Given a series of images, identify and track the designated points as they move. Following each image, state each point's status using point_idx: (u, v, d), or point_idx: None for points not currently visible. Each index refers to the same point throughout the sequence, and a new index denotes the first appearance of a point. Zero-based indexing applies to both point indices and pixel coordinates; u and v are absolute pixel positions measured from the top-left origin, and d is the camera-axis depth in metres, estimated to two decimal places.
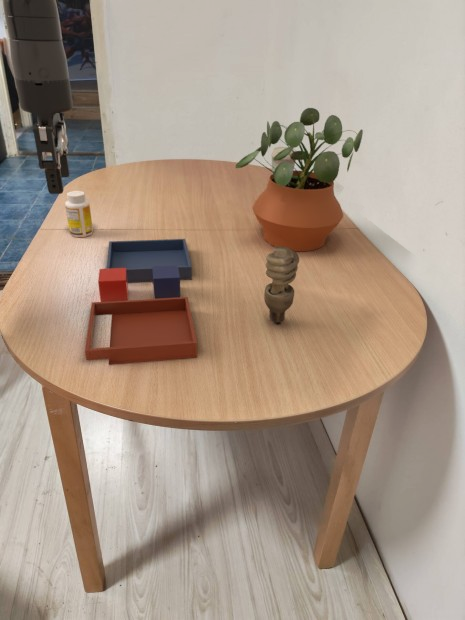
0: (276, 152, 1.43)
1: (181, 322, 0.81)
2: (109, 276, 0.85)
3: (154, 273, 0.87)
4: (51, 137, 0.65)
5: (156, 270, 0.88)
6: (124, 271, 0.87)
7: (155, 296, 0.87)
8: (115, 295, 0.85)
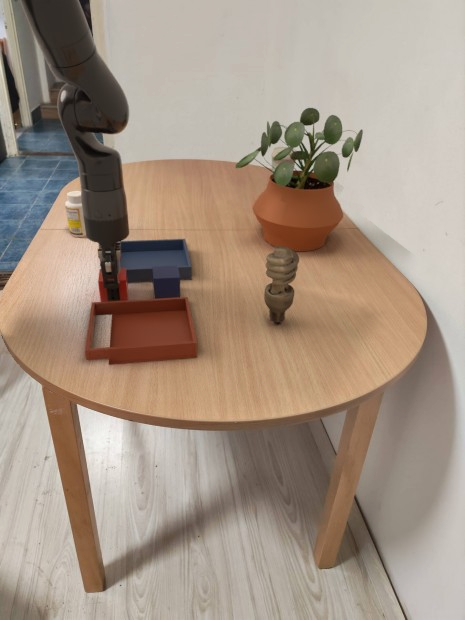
0: (276, 152, 1.43)
1: (181, 322, 0.81)
2: None
3: (154, 273, 0.87)
4: None
5: (156, 270, 0.88)
6: (124, 271, 0.87)
7: (155, 296, 0.87)
8: None
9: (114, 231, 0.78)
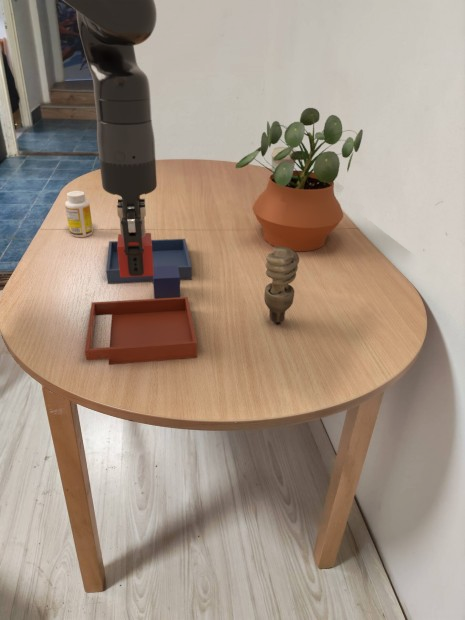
0: (276, 152, 1.43)
1: (181, 322, 0.81)
2: None
3: (154, 273, 0.87)
4: None
5: (156, 270, 0.88)
6: (149, 236, 0.70)
7: (155, 296, 0.87)
8: None
9: (139, 180, 0.60)
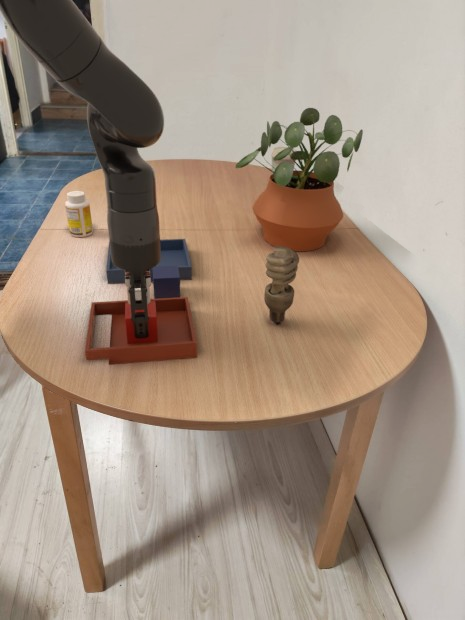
0: (276, 152, 1.43)
1: (181, 322, 0.81)
2: (137, 311, 0.74)
3: (154, 273, 0.87)
4: None
5: (156, 270, 0.88)
6: (154, 305, 0.76)
7: (155, 296, 0.87)
8: None
9: (145, 257, 0.67)
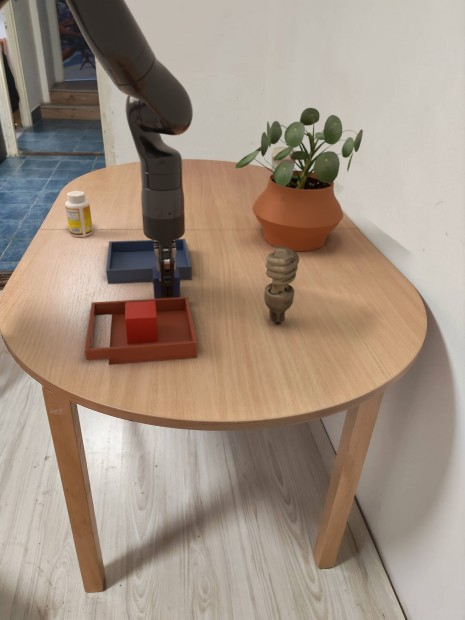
0: (276, 152, 1.43)
1: (181, 322, 0.81)
2: (137, 311, 0.74)
3: (154, 273, 0.87)
4: None
5: (156, 270, 0.88)
6: (154, 305, 0.76)
7: (155, 296, 0.87)
8: (143, 333, 0.75)
9: (173, 229, 0.79)
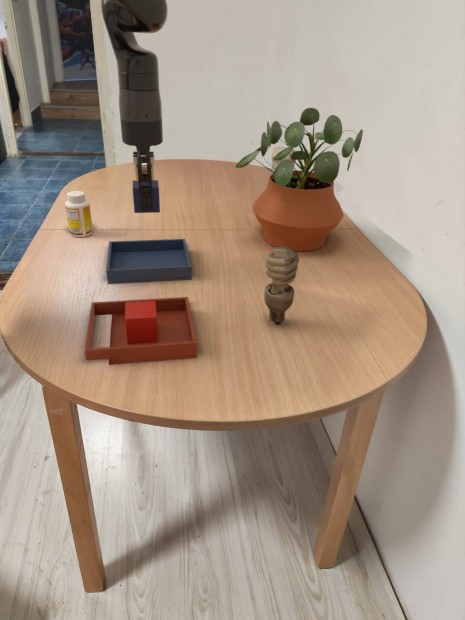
0: (276, 152, 1.43)
1: (181, 322, 0.81)
2: (137, 311, 0.74)
3: (133, 184, 0.88)
4: None
5: (136, 183, 0.89)
6: (154, 305, 0.76)
7: (135, 207, 0.89)
8: (143, 333, 0.75)
9: (150, 134, 0.81)
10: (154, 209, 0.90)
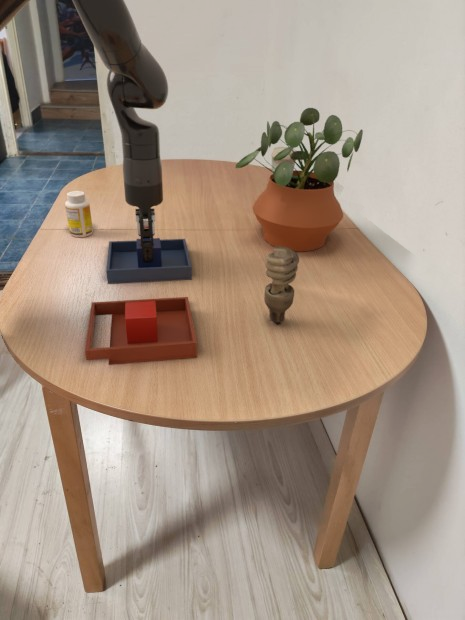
0: (276, 152, 1.43)
1: (181, 322, 0.81)
2: (137, 311, 0.74)
3: (137, 244, 0.96)
4: None
5: (139, 242, 0.97)
6: (154, 305, 0.76)
7: (139, 265, 0.96)
8: (143, 333, 0.75)
9: (151, 196, 0.88)
10: (156, 266, 0.97)
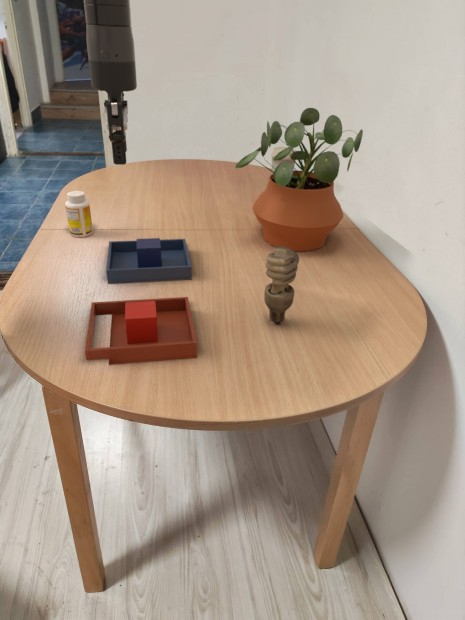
0: (276, 152, 1.43)
1: (181, 322, 0.81)
2: (137, 311, 0.74)
3: (137, 244, 0.96)
4: None
5: (139, 242, 0.97)
6: (154, 305, 0.76)
7: (139, 265, 0.96)
8: (143, 333, 0.75)
9: (121, 76, 0.73)
10: (156, 266, 0.97)
